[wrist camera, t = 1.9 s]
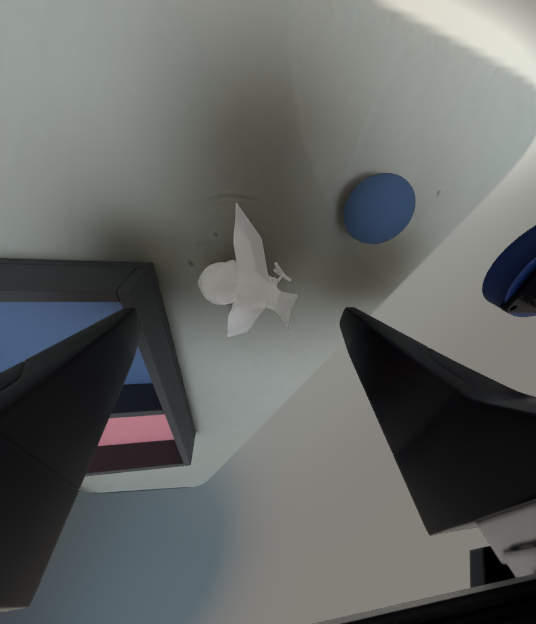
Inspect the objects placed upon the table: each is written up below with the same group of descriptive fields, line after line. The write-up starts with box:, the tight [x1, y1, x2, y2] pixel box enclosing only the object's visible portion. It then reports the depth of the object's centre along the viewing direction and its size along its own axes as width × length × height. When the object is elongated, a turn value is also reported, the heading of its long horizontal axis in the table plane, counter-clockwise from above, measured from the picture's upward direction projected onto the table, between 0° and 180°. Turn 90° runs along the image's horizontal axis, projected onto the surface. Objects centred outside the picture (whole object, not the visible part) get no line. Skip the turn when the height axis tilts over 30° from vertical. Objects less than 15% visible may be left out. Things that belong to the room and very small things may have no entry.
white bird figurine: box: [197, 203, 298, 337], centre depth 11 cm, size 8×5×5 cm, turn 171°
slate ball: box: [343, 173, 415, 244], centre depth 10 cm, size 3×3×3 cm
